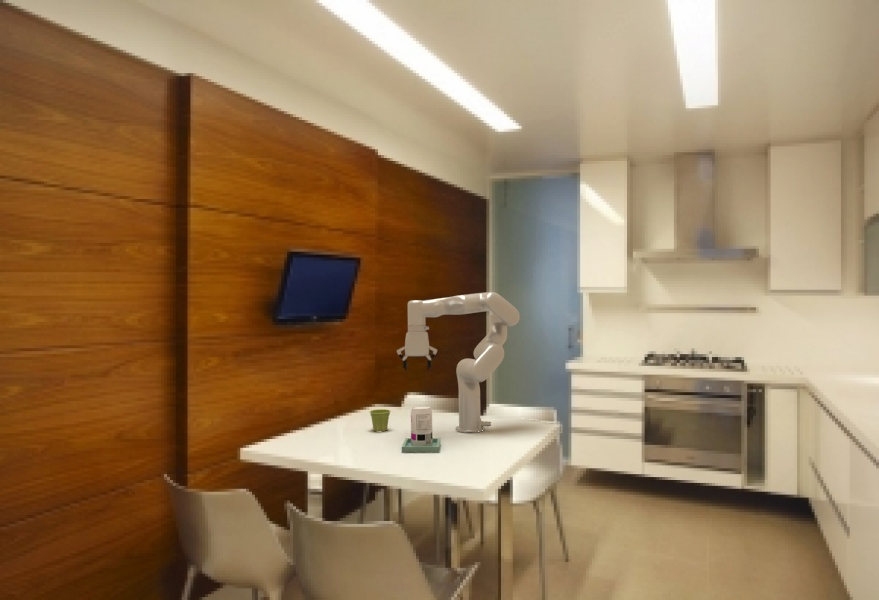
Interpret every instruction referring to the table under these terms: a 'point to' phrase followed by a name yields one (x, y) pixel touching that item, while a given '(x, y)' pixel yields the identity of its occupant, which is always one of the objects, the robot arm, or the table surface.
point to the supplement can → (421, 426)
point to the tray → (421, 447)
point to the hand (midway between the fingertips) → (417, 369)
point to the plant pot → (380, 419)
